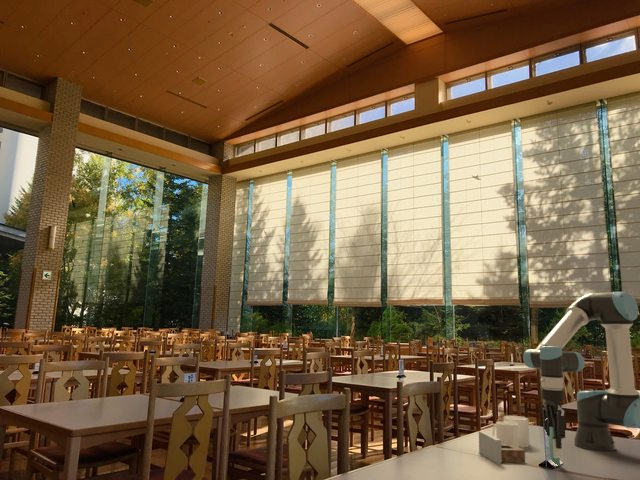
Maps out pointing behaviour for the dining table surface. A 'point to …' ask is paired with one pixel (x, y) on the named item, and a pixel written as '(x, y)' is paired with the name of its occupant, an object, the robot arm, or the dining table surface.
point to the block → (512, 453)
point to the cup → (506, 432)
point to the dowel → (555, 460)
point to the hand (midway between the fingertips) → (555, 456)
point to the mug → (520, 429)
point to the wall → (490, 447)
